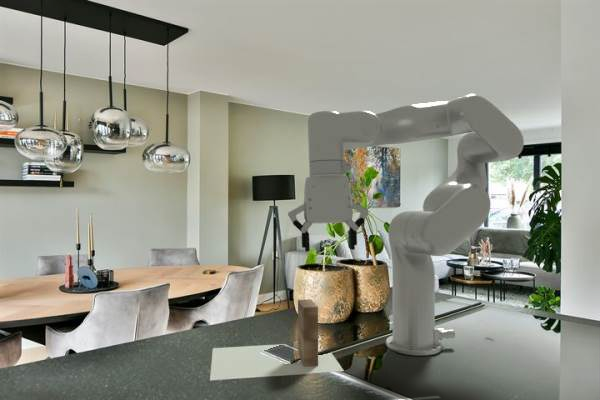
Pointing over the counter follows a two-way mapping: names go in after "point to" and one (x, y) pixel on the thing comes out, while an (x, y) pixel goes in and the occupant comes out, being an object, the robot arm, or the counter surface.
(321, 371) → the mat
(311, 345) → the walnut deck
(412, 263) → the robot arm
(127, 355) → the counter surface
